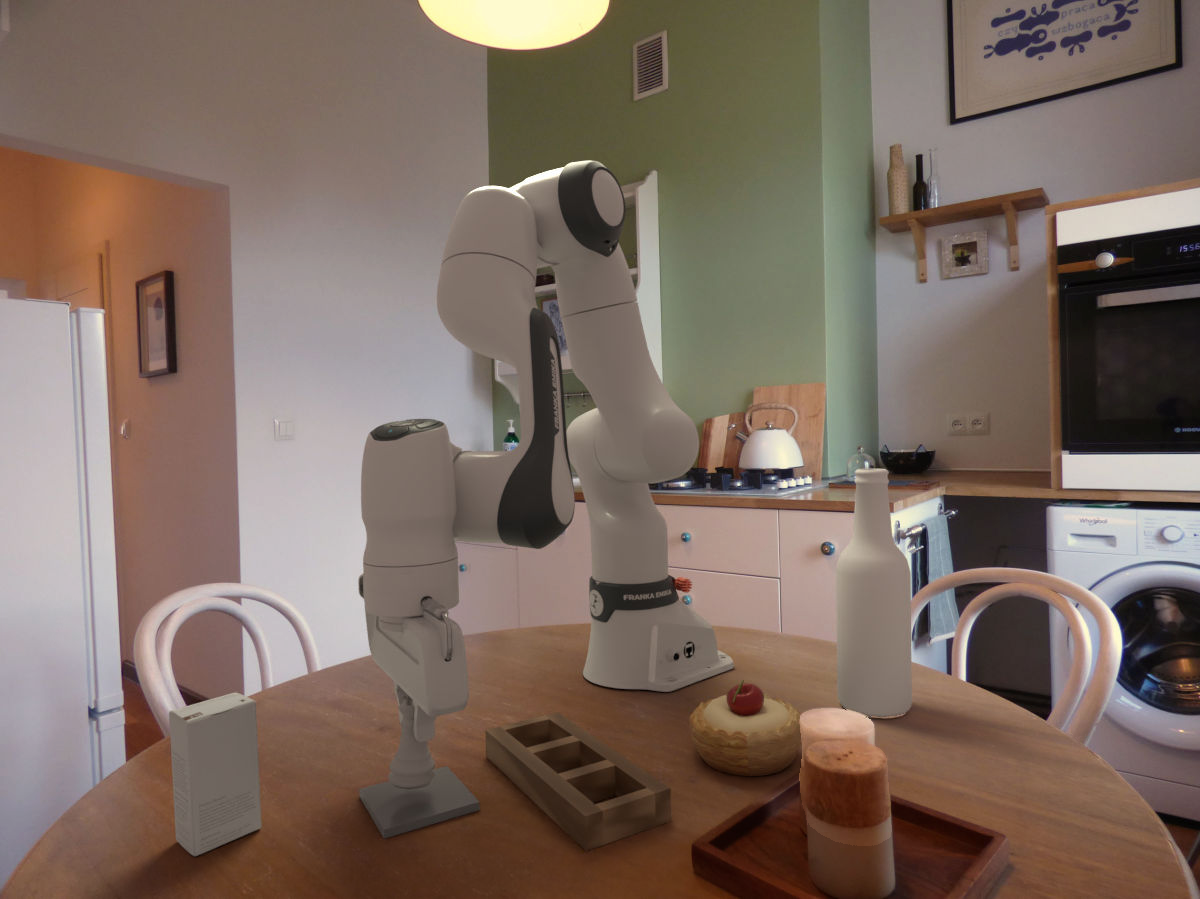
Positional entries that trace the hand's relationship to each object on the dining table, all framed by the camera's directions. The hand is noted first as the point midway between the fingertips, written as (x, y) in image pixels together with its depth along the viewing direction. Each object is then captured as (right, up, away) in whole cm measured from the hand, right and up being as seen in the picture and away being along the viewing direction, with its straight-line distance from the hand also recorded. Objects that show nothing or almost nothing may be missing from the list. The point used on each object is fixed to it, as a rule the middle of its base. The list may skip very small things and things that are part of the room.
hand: (416, 730), depth 73 cm
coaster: (0, -7, 0) cm, 7 cm away
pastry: (+34, -6, +9) cm, 35 cm away
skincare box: (-17, -8, -5) cm, 19 cm away
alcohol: (+52, -6, +22) cm, 57 cm away
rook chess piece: (0, -5, 0) cm, 5 cm away
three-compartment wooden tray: (+15, -7, +3) cm, 16 cm away
